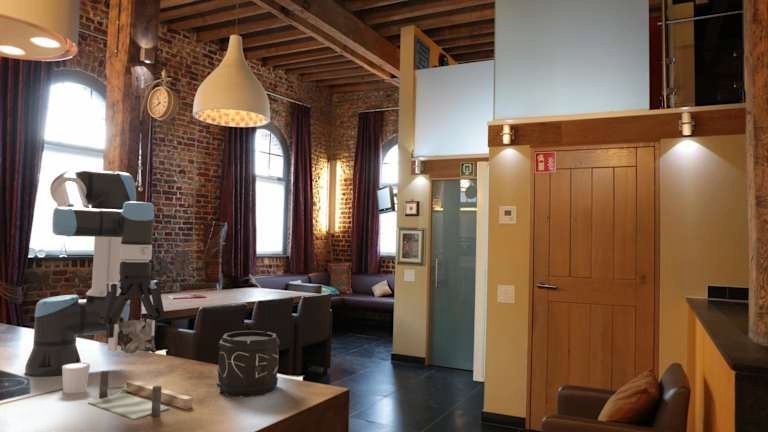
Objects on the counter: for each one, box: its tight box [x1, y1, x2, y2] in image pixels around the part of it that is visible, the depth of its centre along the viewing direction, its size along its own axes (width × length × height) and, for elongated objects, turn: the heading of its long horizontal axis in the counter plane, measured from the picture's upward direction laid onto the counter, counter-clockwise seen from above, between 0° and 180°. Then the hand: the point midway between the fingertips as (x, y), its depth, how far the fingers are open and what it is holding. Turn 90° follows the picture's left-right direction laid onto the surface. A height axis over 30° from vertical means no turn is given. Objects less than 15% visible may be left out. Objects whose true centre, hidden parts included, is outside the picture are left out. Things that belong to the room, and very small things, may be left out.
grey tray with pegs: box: [87, 370, 193, 420], centre depth 142 cm, size 26×14×7 cm, turn 57°
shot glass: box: [61, 362, 91, 394], centre depth 153 cm, size 7×7×7 cm
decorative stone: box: [118, 316, 157, 355], centre depth 140 cm, size 16×9×10 cm, turn 45°
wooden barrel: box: [216, 330, 280, 398], centre depth 159 cm, size 18×18×16 cm
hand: (131, 347), depth 141 cm, fingers closed on decorative stone, 10 cm apart
